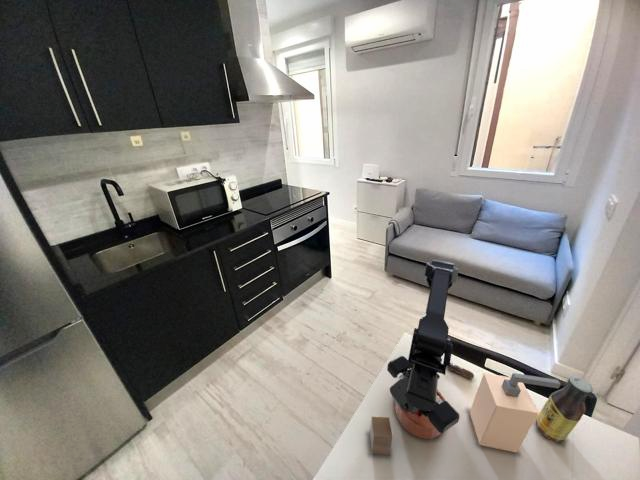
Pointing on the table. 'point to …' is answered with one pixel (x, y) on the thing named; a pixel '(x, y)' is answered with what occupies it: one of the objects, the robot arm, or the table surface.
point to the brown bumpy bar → (461, 371)
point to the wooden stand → (380, 435)
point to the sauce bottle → (564, 409)
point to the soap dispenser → (505, 409)
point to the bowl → (418, 423)
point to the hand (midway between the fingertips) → (415, 409)
